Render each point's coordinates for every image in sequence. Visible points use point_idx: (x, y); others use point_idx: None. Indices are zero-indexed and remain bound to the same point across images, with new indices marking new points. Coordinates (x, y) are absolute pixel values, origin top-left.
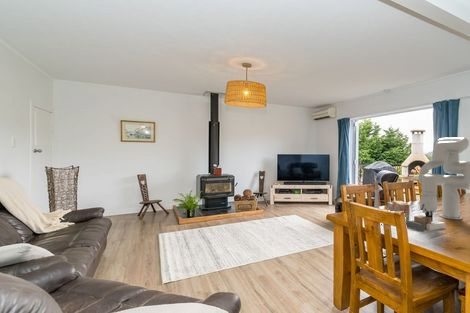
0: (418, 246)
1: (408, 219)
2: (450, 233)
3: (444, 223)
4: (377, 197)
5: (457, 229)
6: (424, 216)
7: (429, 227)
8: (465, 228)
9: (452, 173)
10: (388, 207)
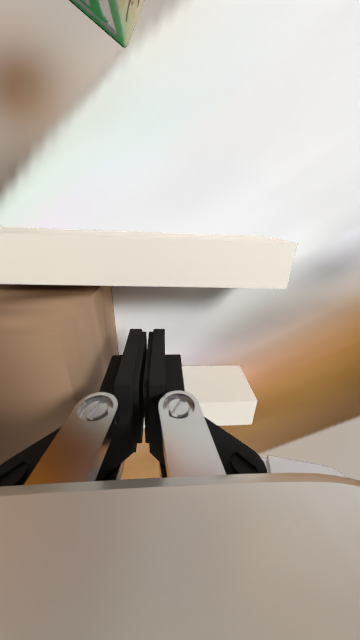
0: None
1: (107, 9)
2: (136, 452)
3: (236, 420)
4: None
5: (276, 420)
6: (27, 406)
7: None
8: (348, 420)
9: None
10: None
